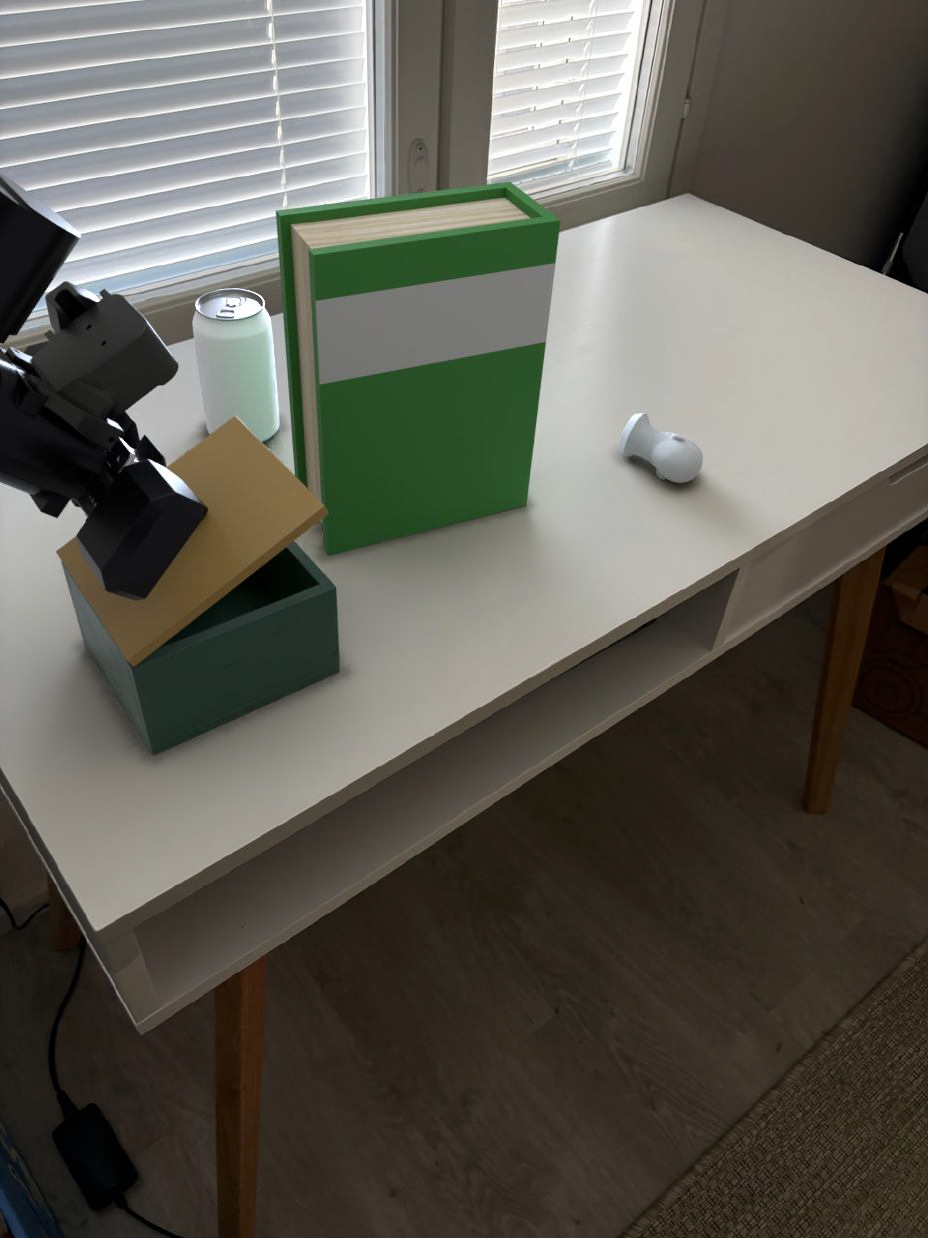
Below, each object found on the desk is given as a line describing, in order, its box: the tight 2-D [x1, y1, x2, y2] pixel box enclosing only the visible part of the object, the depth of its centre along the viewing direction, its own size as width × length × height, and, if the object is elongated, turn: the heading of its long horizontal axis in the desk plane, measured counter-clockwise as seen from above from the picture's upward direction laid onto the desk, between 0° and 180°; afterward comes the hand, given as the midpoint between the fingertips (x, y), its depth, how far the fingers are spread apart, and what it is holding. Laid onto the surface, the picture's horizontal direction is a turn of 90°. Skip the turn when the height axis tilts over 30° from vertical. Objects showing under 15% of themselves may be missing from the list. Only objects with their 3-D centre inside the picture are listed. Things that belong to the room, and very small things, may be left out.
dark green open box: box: [60, 540, 341, 756], centre depth 67 cm, size 14×12×8 cm
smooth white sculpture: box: [618, 412, 704, 484], centre depth 89 cm, size 4×8×5 cm
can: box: [192, 288, 280, 444], centre depth 87 cm, size 6×6×12 cm
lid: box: [55, 416, 328, 666], centre depth 62 cm, size 14×12×1 cm
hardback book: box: [275, 181, 561, 556], centre depth 76 cm, size 18×7×24 cm, turn 116°
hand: (202, 512), depth 62 cm, fingers closed
